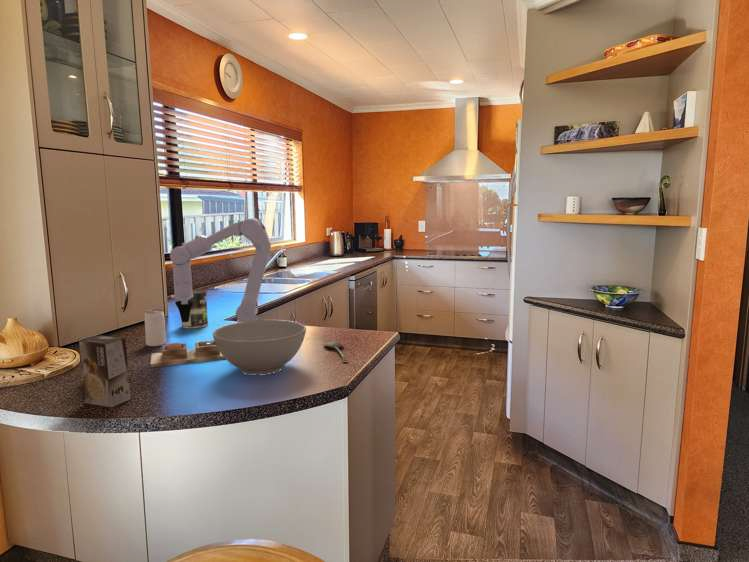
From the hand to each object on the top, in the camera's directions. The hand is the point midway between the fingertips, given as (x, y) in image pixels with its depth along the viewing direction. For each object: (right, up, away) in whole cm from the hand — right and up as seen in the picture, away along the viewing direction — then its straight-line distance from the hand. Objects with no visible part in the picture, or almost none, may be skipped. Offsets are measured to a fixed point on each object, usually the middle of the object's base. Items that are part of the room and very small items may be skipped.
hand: (185, 321), depth 176 cm
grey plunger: (+10, -9, -8) cm, 16 cm away
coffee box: (-3, -17, -46) cm, 49 cm away
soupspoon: (+52, -11, -6) cm, 54 cm away
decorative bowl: (+31, -13, -22) cm, 40 cm away
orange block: (+1, -9, -11) cm, 15 cm away
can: (-13, -9, +7) cm, 17 cm away
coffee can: (-9, -5, +35) cm, 37 cm away
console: (+5, -11, -9) cm, 15 cm away
